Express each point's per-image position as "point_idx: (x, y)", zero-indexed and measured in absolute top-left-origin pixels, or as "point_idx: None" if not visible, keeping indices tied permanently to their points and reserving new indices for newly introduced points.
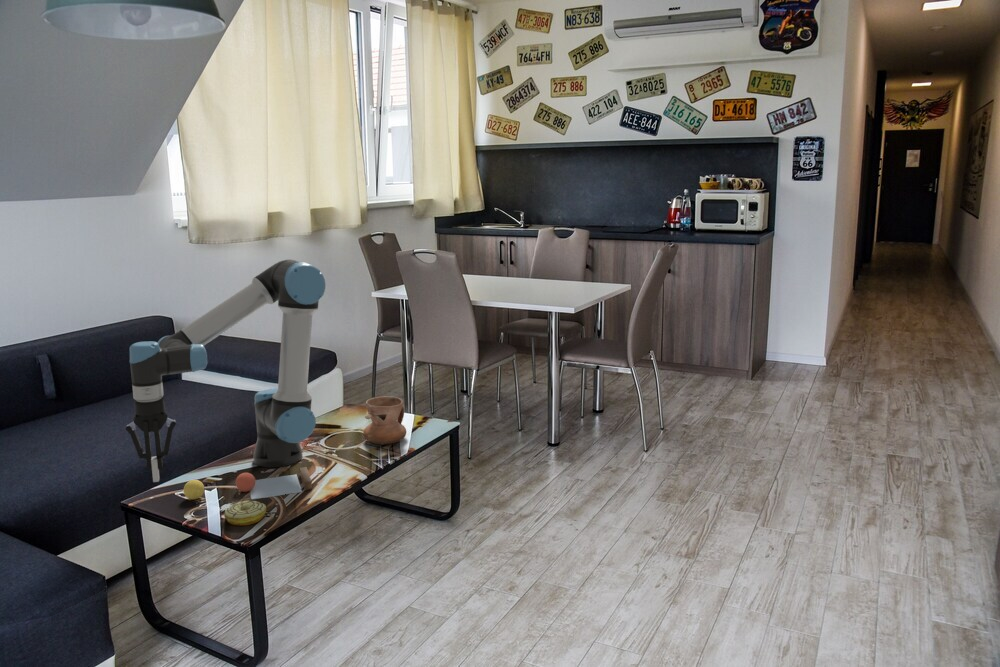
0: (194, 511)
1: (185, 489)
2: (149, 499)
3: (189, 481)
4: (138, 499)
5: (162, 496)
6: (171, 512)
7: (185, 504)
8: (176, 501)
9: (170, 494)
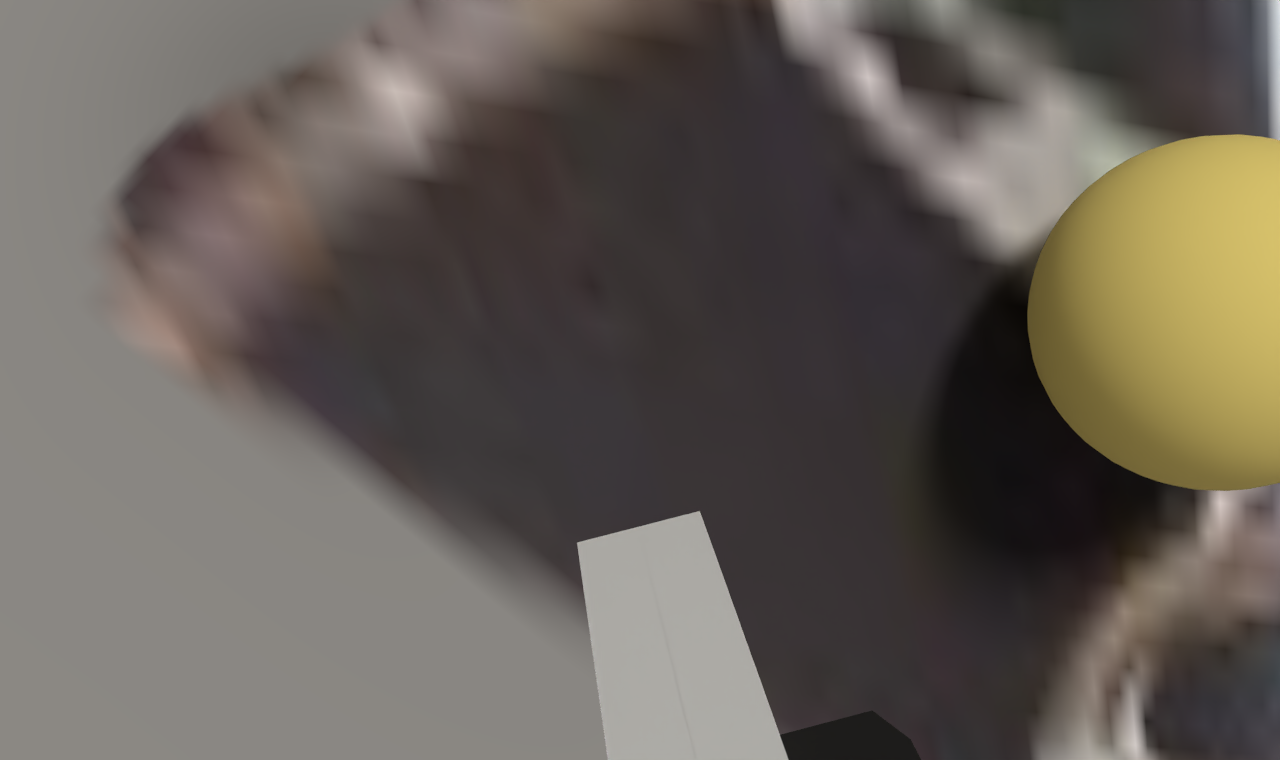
0: (1150, 676)
1: (1114, 452)
2: (388, 187)
3: (1248, 388)
4: (185, 158)
5: (578, 86)
6: (863, 678)
7: (1010, 454)
8: (861, 331)
9: (698, 13)
